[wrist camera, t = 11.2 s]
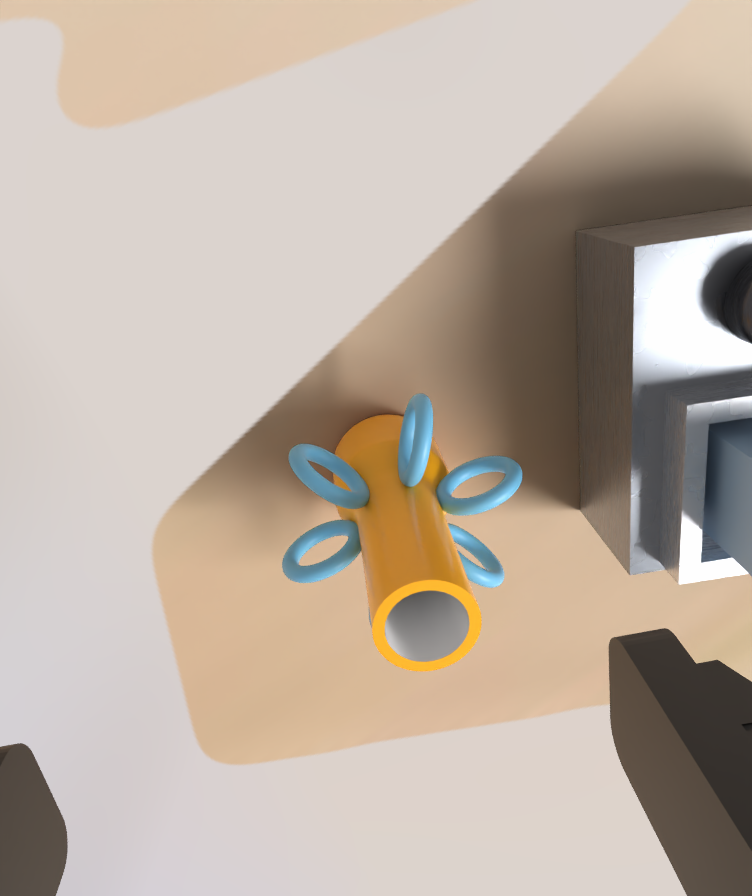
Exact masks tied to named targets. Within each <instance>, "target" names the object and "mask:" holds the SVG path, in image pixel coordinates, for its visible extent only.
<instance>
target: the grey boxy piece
mask: <svg viewBox="0 0 752 896" xmlns="http://www.w3.org/2000/svg"><path fill="white" fill-rule="evenodd" d="M576 277H577V338H578V398H579V458H580V511H581V512H582V513H583V515H584V516H585V517H586V519H587V520H588V521H589V523H590V524H591V525H592V527H593V528H594V529H595V530H596V532H597V533H598V534H599V536H600V537H601V538H602V540H603V541H604V542H605V544H606V545H607V546H608V547H609V549H610V550H611V551H612V553H613V554H614V555H615V557H616V558H617V559H618V561H619V562H620V563H621V564H622V566H623V567H624V568H625V570H626V571H627V572H628V574H629V575H635V574H641V573H648V572H654V571H660V570H667V572H668V573H669V574H670V575H671V576H672V577H673V578H674V580H675V581H676V582H677V583H678V584H685V583H692V582H698V581H704V580H710V579H717V578H723V577H729V576H735V575H741V574H748V572H747V571H746V570H745V569H744V568H742V567H741V566H740V565H739V564H738V563H737V562H736V561H735V560H734V559H733V558H732V557H731V556H730V555H729V554H728V553H727V552H726V551H725V550H724V549H722V548H721V547H720V546H719V545H718V544H717V543H716V542H715V541H714V540H713V539H712V538H711V537H710V536H709V535H708V534H707V533H706V532H705V531H704V530H703V513H704V497H705V480H706V463H707V447H708V430H709V424H712V423H719V422H725V421H732V420H738V419H745V418H751V417H752V206H745V207H738V208H731V209H724V210H717V211H710V212H703V213H696V214H689V215H682V216H675V217H668V218H661V219H654V220H647V221H640V222H633V223H626V224H619V225H612V226H605V227H598V228H591V229H584V230H577V231H576Z"/></svg>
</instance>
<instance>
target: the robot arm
mask: <svg viewBox="0 0 752 896" xmlns="http://www.w3.org/2000/svg"><path fill="white" fill-rule="evenodd" d="M609 681H610V719H611V728H612V735H613V739H614V743H615V747H616V750H617V753H618V756H619V759H620V762H621V764H622V766H623V769H624V771H625V773H626V775H627V777H628V779H629V781H630V783H631V785H632V787H633V789H634V791H635V793H636V795H637V797H638V799H639V801H640V803H641V805H642V807H643V809H644V811H645V813H646V814H647V816H648V819H649V821H650V823H651V825H652V826H653V829H654V831H655V832H656V835H657V837H658V838H659V841H660V842H661V845H662V846H663V848H664V850H665V852H666V854H667V856H668V858H669V860H670V862H671V864H672V866H673V868H674V870H675V872H676V874H677V876H678V878H679V880H680V882H681V884H682V886H683V888H684V890H685V892H686V894H687V896H752V682H751V681H749V680H748V679H746V678H745V677H743V676H742V675H740V674H739V673H737V672H735V671H734V670H732V669H731V668H729V667H728V666H726V665H725V664H723V663H722V662H720V661H718V660H714V661H709V662H703V663H698V664H696V663H695V662H694V660H693V659H692V658H691V656H690V655H689V654H688V652H687V651H686V650H685V648H684V647H683V646H682V644H681V643H680V641H679V640H678V639H677V637H676V636H675V635H674V634H673V633H672V632H671V631H670V630H668V629H665V628H664V629H658V630H653V631H647V632H642V633H636V634H631V635H625V636H620V637H614V638H612V639H611V640H610V643H609ZM66 858H67V831H66V826H65V822H64V819H63V817H62V815H61V813H60V810H59V808H58V806H57V804H56V802H55V800H54V798H53V795H52V793H51V792H50V789H49V787H48V785H47V783H46V781H45V778H44V776H43V774H42V772H41V770H40V768H39V766H38V764H37V761H36V759H35V757H34V755H33V753H32V751H31V750H30V749H29V748H28V746H26V745H24V744H21V743H20V744H13V745H8V746H2V747H0V896H56V893H57V890H58V887H59V884H60V881H61V878H62V875H63V872H64V869H65V864H66Z"/></svg>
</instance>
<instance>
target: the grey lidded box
mask: <svg viewBox="0 0 752 896" xmlns="http://www.w3.org/2000/svg"><path fill="white" fill-rule="evenodd" d="M703 530H704V531H705V532H706V533H707V534H708V535H709V536H710V537H711V538H712V539H713V540H714V541H715V542H716V543H717V544H718V545H719V546H720V547H721V548H722V549H724V550H725V551H726V552H727V553H728V554H729V555H730V556H731V557H732V558H733V559H734V560H735V561H736V562H737V563H738V564H739V565H740V566H741V567H742V568H744V569H745V570H746V571H747V572H748V573H749V574H750V575H751V576H752V417H751V418H745V419H738V420H732V421H725V422H719V423H712V424H709V430H708V447H707V463H706V480H705V497H704V513H703Z"/></svg>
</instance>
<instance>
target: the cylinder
mask: <svg viewBox="0 0 752 896" xmlns="http://www.w3.org/2000/svg"><path fill="white" fill-rule="evenodd" d="M432 432H433V410H432V404H431V401H430V399H429V398H428V397H427V396H426V395H425V394H421V393H419V394H416V395H414V396H413V397H412V398H411V399H410V401H409V403H408V405H407V408H406V411H405V414H404V416H400V415H390V414H385V415H378V416H373V417H370V418H367V419H365V420H363V421H361V422H359V423H357V424H356V425H354V426H353V427H352V428H351V429H350V430H349V431H347V433H346V434H345V435H344V436H343V437H342V439H341V440H340V442H339V444H338V446H337V448H336V451H335V454H333V453H331V452H329V451H327V450H325V449H323V448H321V447H318V446H315V445H311V444H298V445H296V446H294V447H293V448H292V449H291V450H290V453H289V463H290V466H291V468H292V470H293V471H294V473H295V474H296V476H297V477H298V478H299V479H300V480H301V481H302V482H303V483H304V484H305V485H306V486H307V487H308V488H309V489H311V490H312V491H313V492H315V493H316V494H317V495H319V496H320V497H322V498H324V499H325V500H327V501H329V502H331V503H333V504H335V505H336V507H337V510H338V513H339V515H340V517H341V519H342V520H335V521H330V522H327V523H324V524H321V525H319V526H317V527H315V528H313V529H311V530H309V531H308V532H306V533H305V534H303V535H302V536H300V537H299V538H298V539H297V540H296V541H295V542H294V543H293V544H292V545H291V546H290V547H289V549H288V550H287V552H286V553H285V555H284V558H283V562H282V568H283V572H284V574H285V575H286V576H287V577H288V578H289V579H290V580H292V581H295V582H299V583H311V582H316V581H320V580H323V579H326V578H328V577H330V576H332V575H334V574H336V573H338V572H339V571H341V570H342V569H344V568H345V567H346V566H348V565H349V564H350V563H351V562H352V561H353V560H354V559H355V558H356V557H357V556H358V554H359V553H360V551H362V558H363V566H364V573H365V580H366V588H367V595H368V603H369V620H370V625H371V627H372V633H373V639H374V642H375V645H376V647H377V649H378V650H379V652H380V653H381V654H382V655H383V656H384V657H385V658H386V659H387V660H388V661H389V662H391V663H392V664H394V665H396V666H398V667H401V668H403V669H407V670H412V671H432V670H437V669H441V668H444V667H447V666H449V665H451V664H453V663H455V662H457V661H458V660H460V659H461V658H462V657H464V656H465V655H466V654H467V653H468V652H469V651H470V650H471V648H472V647H473V646H474V644H475V643H476V641H477V639H478V636H479V634H480V630H481V613H480V609H479V607H478V604H477V601H476V599H475V596H474V593H473V591H472V588H471V585H470V583H469V580H470V581H472V582H474V583H476V584H478V585H481V586H484V587H489V588H493V587H497V586H499V585H500V584H501V583H502V582H503V580H504V571H503V568H502V566H501V564H500V562H499V561H498V559H497V558H496V557H495V555H494V554H493V553H492V552H491V551H490V550H489V549H488V548H487V547H486V546H485V545H484V544H483V543H482V542H480V541H479V540H478V539H477V538H475V537H474V536H473V535H471V534H470V533H468V532H467V531H465V530H463V529H462V528H460V527H458V526H455V525H453V524H449V523H447V521H446V518H445V515H446V514H447V513H449V514H453V515H473V514H478V513H481V512H484V511H487V510H490V509H492V508H494V507H496V506H498V505H500V504H501V503H503V502H505V501H506V500H507V499H509V498H510V497H511V496H512V495H513V494H514V493H515V492H516V490H517V489H518V488H519V486H520V484H521V481H522V470H521V467H520V465H519V464H518V463H517V462H516V461H514V460H513V459H511V458H508V457H504V456H487V457H482V458H478V459H474V460H471V461H469V462H466V463H464V464H462V465H460V466H458V467H457V468H455V469H454V470H452V471H451V472H450V473H449V471H448V469H447V467H446V464H445V462H444V460H443V458H442V455H441V453H440V451H439V448H438V446H437V444H436V442H435V440H434V439H433V437H432ZM307 460H308V461H312V462H315V463H317V464H319V465H321V466H323V467H325V468H327V469H328V470H330V471H331V472H333V479H334V484H333V483H331V482H330V481H328V480H327V479H325V478H324V477H323V476H322V475H320V474H319V473H318V472H317V471H316V470H315V469H314V468H313V467H312V466H311V465H310V464H309V462H308V461H307ZM487 472H502V473H505V477H504V479H503V480H502V481H501V483H499V484H498V485H497V486H496V487H494V488H493V489H491V490H489V491H487V492H485V493H483V494H481V495H478V496H474V497H470V498H454V497H452V492H453V491H454V490H455V488H456V487H457V486H459V485H460V484H461V483H462V482H464V481H466V480H467V479H469V478H471V477H474V476H476V475H479V474H482V473H487ZM340 535H345V536H348V537H349V538H348V541H347V542H346V544H345V545H344V546H343V548H342V549H341V550H339V551H338V552H337V553H336V554H334V555H333V556H331V557H330V558H328V559H326V560H324V561H322V562H320V563H317V564H314V565H310V566H300V565H298V563H299V561H300V559H301V557H302V556H303V555H304V554H305V553H306V552H307V551H308V550H309V549H310V548H311V547H313V546H314V545H316V544H317V543H319V542H321V541H323V540H325V539H328V538H331V537H334V536H340ZM454 542H456V543H458V544H459V545H461V546H462V547H464V548H465V549H466V550H468V551H469V552H470V553H471V554H473V555H474V556H475V557H476V558H477V559H478V560H479V561H480V562H481V563H482V565H483V566H484V567H485V569H486V570H485V569H483V568H481V567H479V566H477V565H476V564H474V563H473V562H471V561H470V560H468V559H467V558H466V557H465V556H463V555H462V554H461V553H460V552H459V551H458V550H457V548H456V545H455V543H454ZM468 579H469V580H468Z"/></svg>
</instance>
